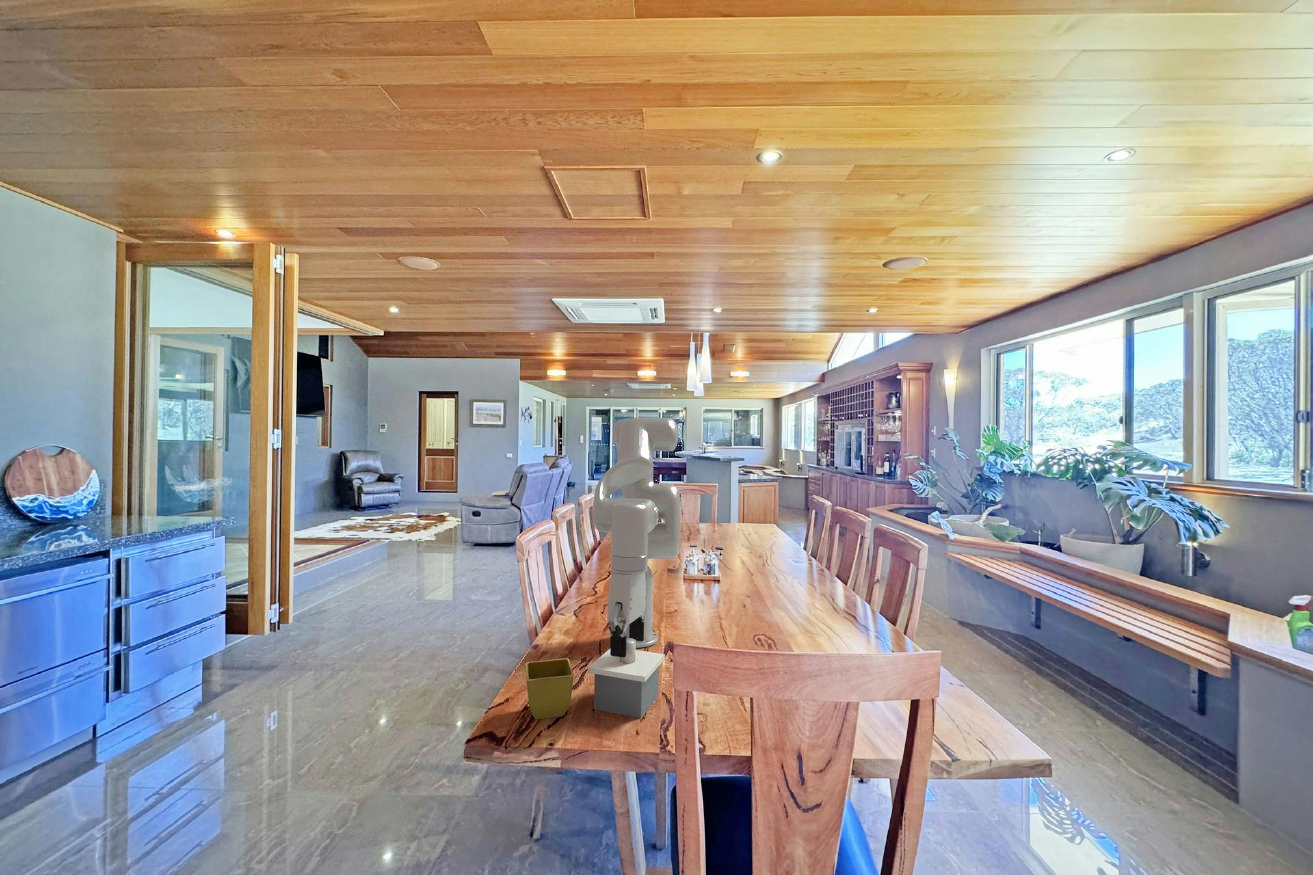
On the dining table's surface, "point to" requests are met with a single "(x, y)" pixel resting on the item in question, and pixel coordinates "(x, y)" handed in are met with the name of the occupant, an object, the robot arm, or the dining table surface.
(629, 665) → the lid
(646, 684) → the open box
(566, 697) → the flower pot
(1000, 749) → the dining table surface
